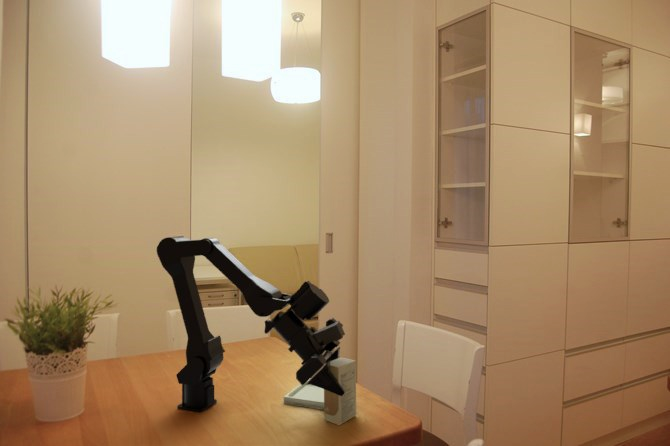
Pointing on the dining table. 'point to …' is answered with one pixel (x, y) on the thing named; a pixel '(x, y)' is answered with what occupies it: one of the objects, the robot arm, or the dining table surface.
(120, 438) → the dining table surface
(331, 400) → the skincare box
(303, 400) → the sage dish
